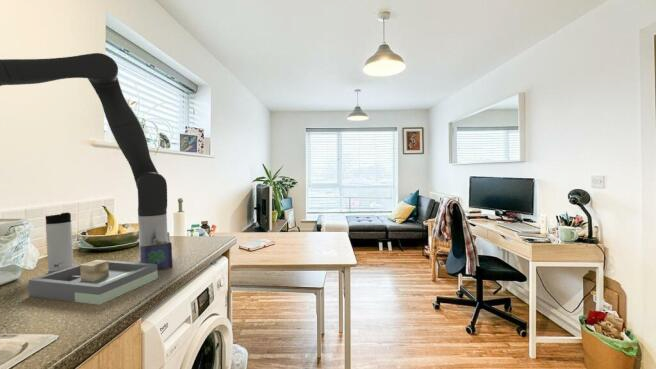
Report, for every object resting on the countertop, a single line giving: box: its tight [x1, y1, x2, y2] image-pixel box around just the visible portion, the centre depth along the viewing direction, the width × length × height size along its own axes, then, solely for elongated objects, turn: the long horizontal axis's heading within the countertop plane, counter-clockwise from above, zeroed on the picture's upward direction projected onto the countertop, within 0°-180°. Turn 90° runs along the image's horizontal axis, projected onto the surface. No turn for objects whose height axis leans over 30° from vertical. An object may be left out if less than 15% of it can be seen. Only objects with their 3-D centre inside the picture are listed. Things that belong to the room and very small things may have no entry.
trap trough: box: [27, 259, 159, 306], centre depth 82 cm, size 18×24×4 cm
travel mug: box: [45, 212, 75, 274], centre depth 96 cm, size 6×7×20 cm
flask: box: [139, 238, 173, 271], centre depth 97 cm, size 9×3×11 cm, turn 121°
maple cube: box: [79, 259, 109, 281], centre depth 82 cm, size 4×4×4 cm
